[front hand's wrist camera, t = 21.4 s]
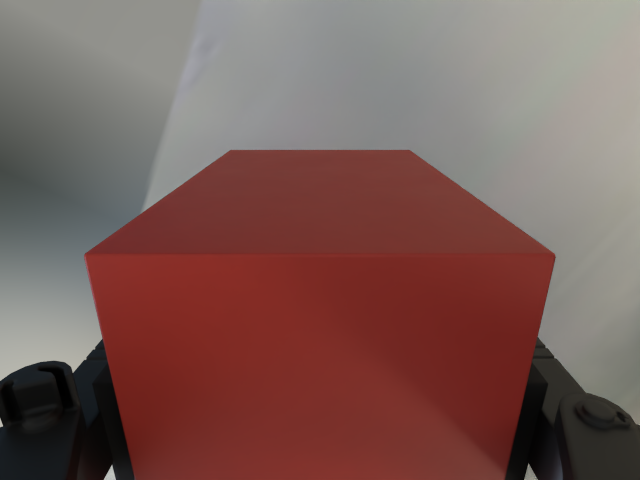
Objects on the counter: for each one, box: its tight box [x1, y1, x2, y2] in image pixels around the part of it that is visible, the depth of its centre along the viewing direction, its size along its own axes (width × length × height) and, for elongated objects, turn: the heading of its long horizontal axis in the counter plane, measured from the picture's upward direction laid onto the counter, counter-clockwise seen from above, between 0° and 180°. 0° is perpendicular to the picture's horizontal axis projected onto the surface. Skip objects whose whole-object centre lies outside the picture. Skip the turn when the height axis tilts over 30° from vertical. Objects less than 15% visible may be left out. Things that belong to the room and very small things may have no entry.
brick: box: [84, 150, 556, 480], centre depth 13 cm, size 9×7×11 cm
